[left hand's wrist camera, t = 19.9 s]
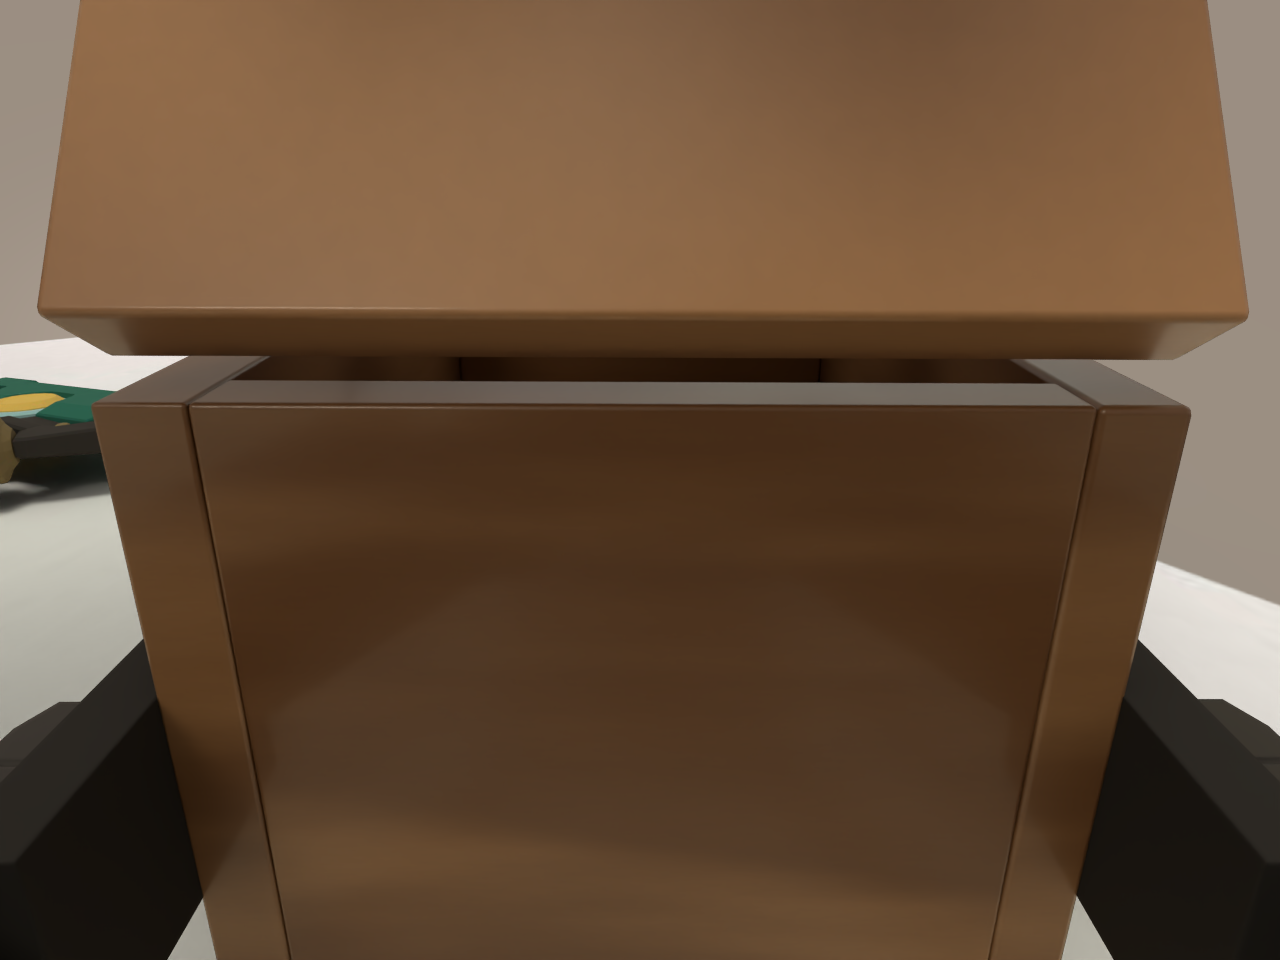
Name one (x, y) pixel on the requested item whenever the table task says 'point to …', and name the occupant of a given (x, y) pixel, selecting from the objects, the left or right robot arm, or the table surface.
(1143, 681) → the left robot arm
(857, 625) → the chest
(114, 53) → the lid
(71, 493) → the table surface
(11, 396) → the spray gun
